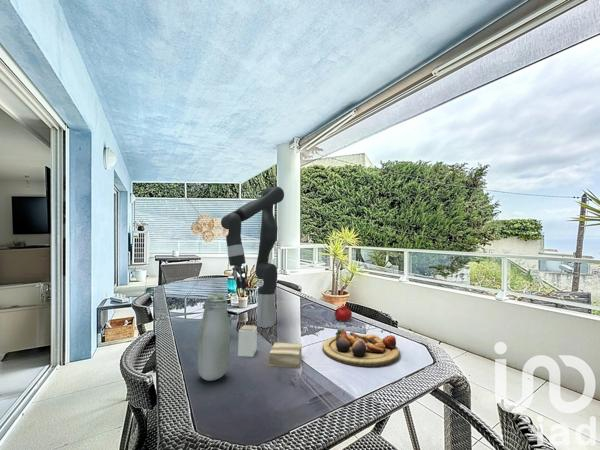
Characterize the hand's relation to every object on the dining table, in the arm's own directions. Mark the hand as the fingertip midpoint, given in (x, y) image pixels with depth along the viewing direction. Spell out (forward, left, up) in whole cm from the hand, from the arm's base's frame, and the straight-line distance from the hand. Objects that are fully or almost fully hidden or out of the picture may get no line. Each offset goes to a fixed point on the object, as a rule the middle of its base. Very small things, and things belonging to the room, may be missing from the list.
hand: (241, 288), depth 138 cm
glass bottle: (+30, +25, -23) cm, 45 cm away
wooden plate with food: (-26, +49, -23) cm, 60 cm away
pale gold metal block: (+3, +33, -23) cm, 40 cm away
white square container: (+9, +17, -23) cm, 30 cm away
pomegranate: (-60, +19, -23) cm, 67 cm away
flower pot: (+8, -5, -23) cm, 25 cm away
